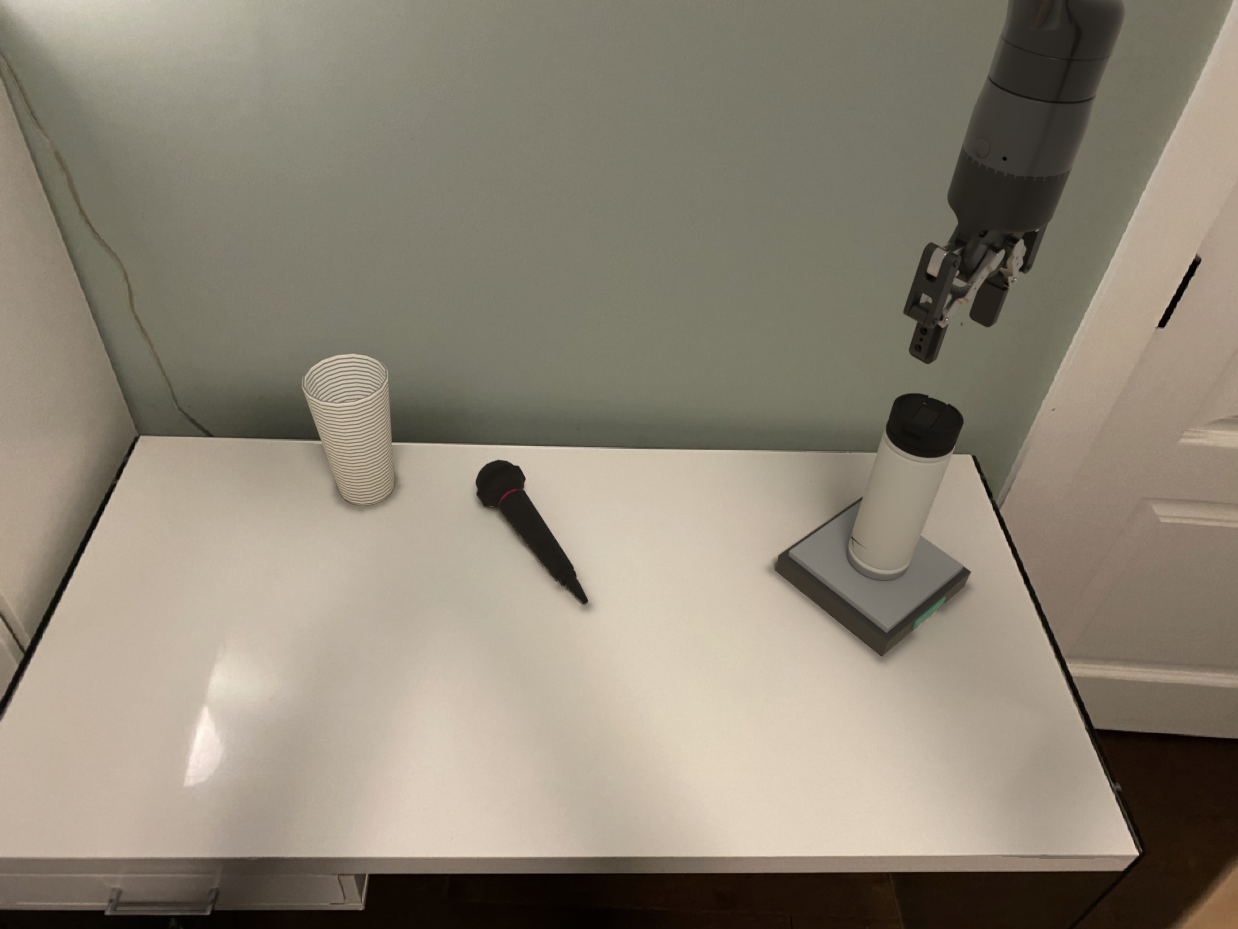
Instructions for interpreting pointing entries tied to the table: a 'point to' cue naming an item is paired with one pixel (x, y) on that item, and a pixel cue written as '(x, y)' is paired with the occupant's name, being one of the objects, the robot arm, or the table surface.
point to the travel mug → (903, 484)
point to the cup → (353, 423)
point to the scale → (870, 583)
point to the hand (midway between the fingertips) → (952, 339)
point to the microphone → (526, 519)
